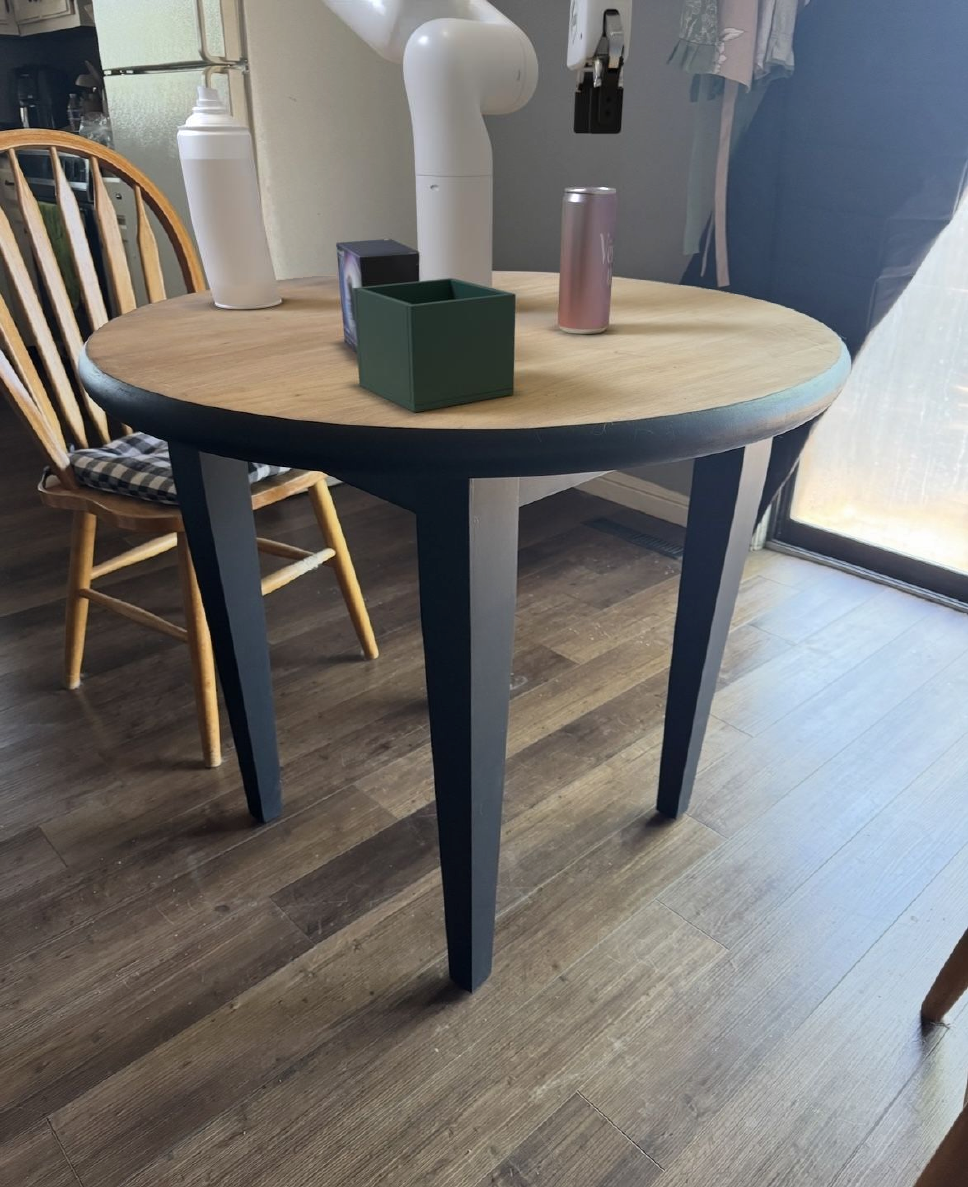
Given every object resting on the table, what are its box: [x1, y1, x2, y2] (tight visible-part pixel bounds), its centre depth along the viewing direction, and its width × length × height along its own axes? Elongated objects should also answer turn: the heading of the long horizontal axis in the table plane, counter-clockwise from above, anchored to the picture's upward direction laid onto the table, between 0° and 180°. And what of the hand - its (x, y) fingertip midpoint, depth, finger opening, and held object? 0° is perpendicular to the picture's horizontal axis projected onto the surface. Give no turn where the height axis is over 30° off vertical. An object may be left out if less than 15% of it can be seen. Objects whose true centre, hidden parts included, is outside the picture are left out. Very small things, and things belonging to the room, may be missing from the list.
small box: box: [335, 238, 420, 355], centre depth 90 cm, size 11×6×10 cm, turn 21°
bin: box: [353, 278, 516, 413], centre depth 77 cm, size 10×10×9 cm
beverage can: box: [557, 186, 618, 335], centre depth 99 cm, size 6×6×15 cm
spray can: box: [176, 84, 283, 310], centre depth 109 cm, size 12×11×25 cm
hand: (595, 133), depth 93 cm, fingers open, 9 cm apart
